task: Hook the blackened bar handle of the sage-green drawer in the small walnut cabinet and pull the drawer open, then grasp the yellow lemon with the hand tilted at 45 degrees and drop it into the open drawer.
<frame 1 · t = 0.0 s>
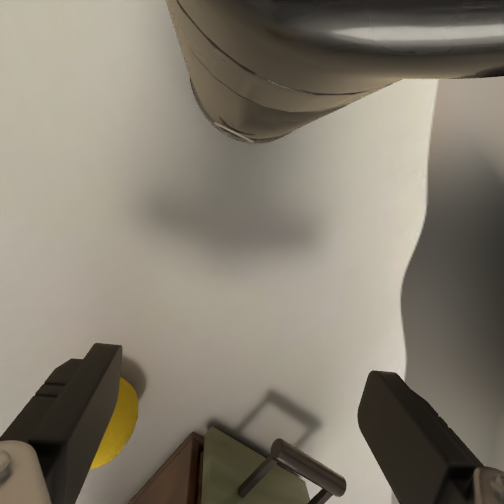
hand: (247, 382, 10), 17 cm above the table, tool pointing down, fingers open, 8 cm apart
lemon: (116, 382, 29), on the table
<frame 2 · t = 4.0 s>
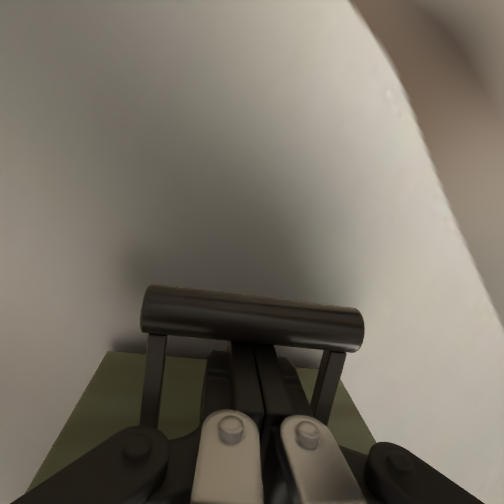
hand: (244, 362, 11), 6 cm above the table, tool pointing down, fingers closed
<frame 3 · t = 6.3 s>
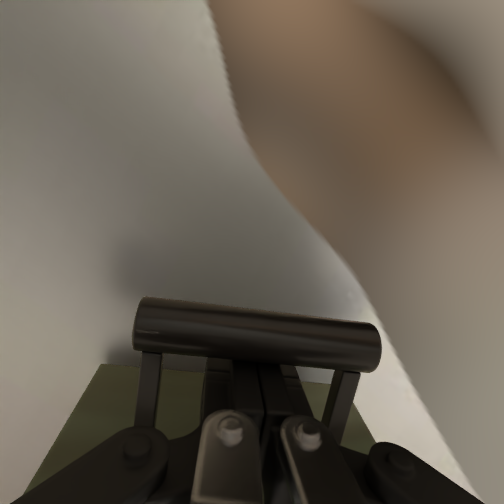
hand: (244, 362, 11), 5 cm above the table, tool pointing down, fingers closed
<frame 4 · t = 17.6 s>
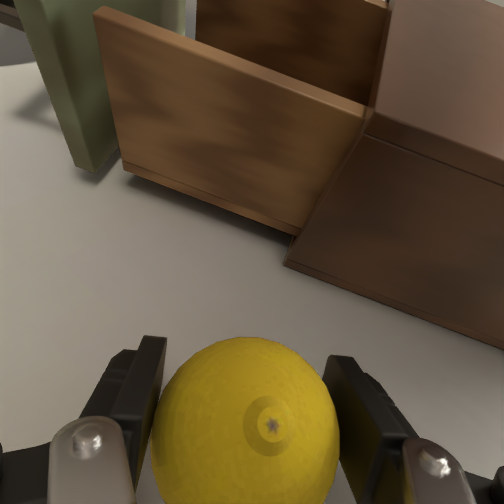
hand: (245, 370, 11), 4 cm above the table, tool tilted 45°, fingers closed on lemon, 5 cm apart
lemon: (225, 433, 14), on the table, touching gripper
cabinet: (423, 230, 22), on the table
drawer: (204, 71, 17), point 5 cm above the table, slide at 11.4 cm
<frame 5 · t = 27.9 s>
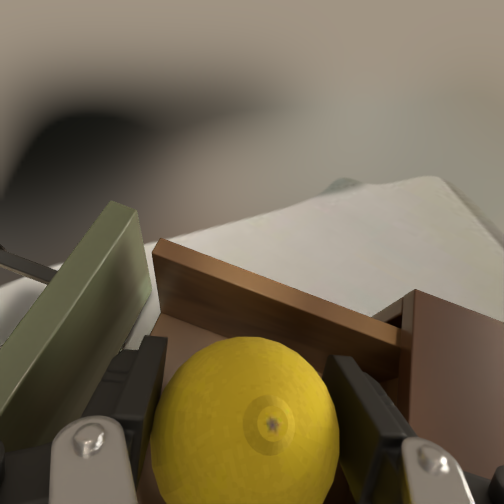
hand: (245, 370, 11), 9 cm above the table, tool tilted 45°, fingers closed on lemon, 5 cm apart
lemon: (225, 433, 14), point 5 cm above the table, touching gripper
drawer: (161, 403, 14), point 5 cm above the table, slide at 11.4 cm
when the fingers open (12 cm above the table, at t = 43.2 s): lemon drops 5 cm, resting on cabinet, drawer.
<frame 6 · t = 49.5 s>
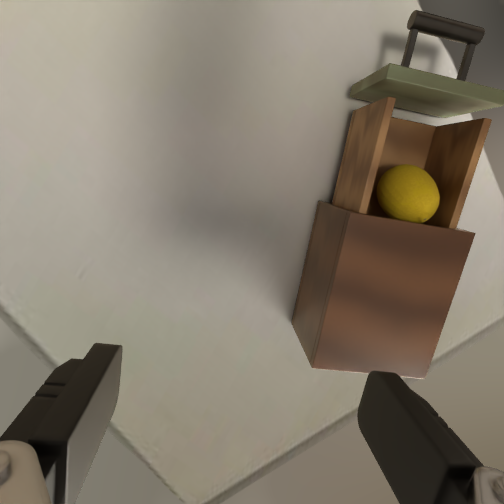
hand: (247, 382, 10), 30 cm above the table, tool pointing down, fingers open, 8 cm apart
lemon: (389, 171, 37), point 3 cm above the table, touching cabinet, drawer
cabinet: (351, 271, 43), on the table
drawer: (409, 138, 34), point 5 cm above the table, slide at 11.8 cm, touching lemon
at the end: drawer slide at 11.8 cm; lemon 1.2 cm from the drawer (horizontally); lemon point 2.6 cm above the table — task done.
